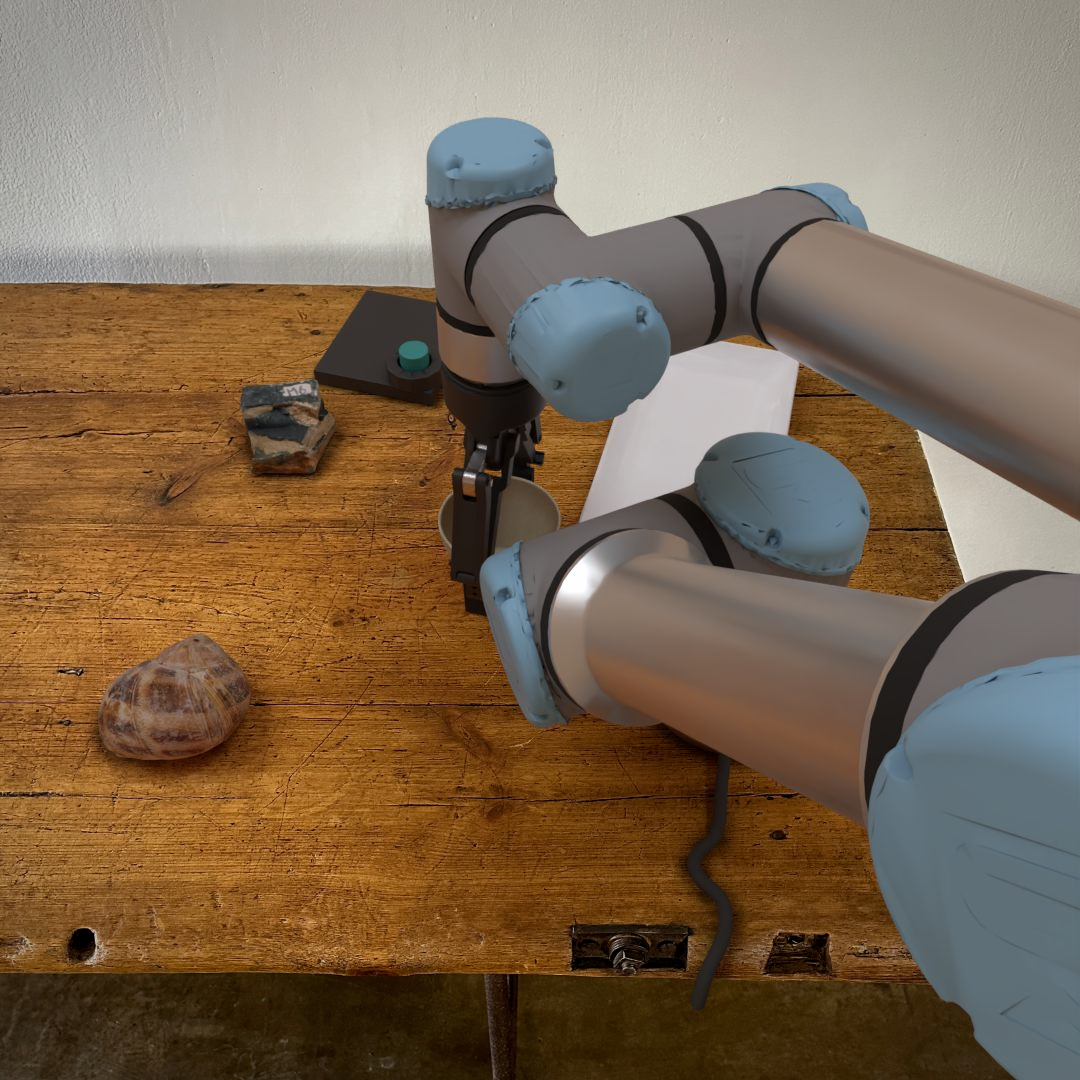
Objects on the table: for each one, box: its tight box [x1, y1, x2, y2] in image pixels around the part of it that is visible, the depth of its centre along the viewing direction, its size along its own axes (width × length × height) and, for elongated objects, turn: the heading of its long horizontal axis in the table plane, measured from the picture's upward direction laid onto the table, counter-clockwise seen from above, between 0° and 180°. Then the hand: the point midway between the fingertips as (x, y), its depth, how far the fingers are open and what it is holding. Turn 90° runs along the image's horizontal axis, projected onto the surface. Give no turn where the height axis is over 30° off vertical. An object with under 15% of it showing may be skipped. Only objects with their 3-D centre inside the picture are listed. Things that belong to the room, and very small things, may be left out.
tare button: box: [399, 341, 429, 372], centre depth 100 cm, size 3×3×2 cm
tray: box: [577, 340, 801, 524], centre depth 95 cm, size 17×31×4 cm, turn 164°
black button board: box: [312, 289, 443, 407], centre depth 105 cm, size 15×13×4 cm
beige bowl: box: [437, 474, 562, 559], centre depth 82 cm, size 10×10×7 cm
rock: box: [240, 378, 338, 475], centre depth 95 cm, size 9×9×6 cm
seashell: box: [97, 633, 252, 761], centre depth 74 cm, size 10×9×10 cm
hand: (500, 564), depth 83 cm, fingers closed on beige bowl, 10 cm apart
